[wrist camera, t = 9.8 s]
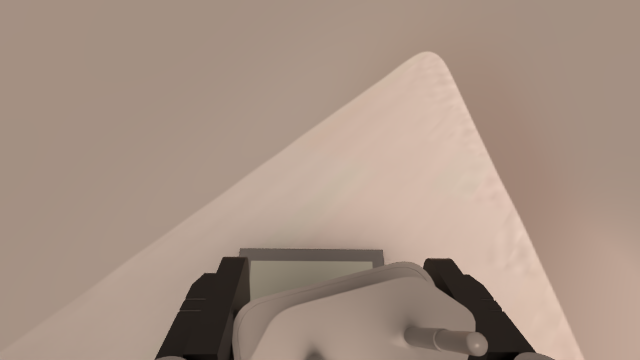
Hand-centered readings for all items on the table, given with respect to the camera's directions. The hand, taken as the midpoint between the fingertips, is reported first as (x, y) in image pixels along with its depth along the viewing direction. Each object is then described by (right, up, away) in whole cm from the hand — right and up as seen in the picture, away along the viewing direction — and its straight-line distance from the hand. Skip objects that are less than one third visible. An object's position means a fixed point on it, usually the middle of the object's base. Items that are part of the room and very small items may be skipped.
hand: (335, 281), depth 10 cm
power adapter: (0, -4, +4) cm, 6 cm away
